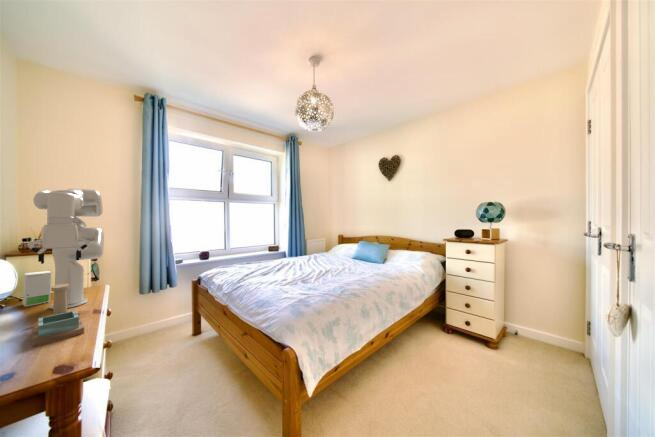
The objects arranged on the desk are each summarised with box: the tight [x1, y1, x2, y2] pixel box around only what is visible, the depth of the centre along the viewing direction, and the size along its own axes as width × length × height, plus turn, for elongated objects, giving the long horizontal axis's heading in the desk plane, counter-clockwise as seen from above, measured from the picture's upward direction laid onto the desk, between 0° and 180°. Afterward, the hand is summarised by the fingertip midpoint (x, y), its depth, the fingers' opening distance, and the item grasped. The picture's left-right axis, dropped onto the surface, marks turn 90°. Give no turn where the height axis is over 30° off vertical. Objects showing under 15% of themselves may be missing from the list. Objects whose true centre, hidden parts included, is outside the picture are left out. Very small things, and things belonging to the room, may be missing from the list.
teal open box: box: [32, 309, 85, 348], centre depth 86 cm, size 14×12×6 cm
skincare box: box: [22, 270, 52, 308], centre depth 115 cm, size 8×7×16 cm
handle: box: [50, 284, 69, 315], centre depth 96 cm, size 5×6×15 cm
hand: (60, 261), depth 96 cm, fingers open, 9 cm apart
